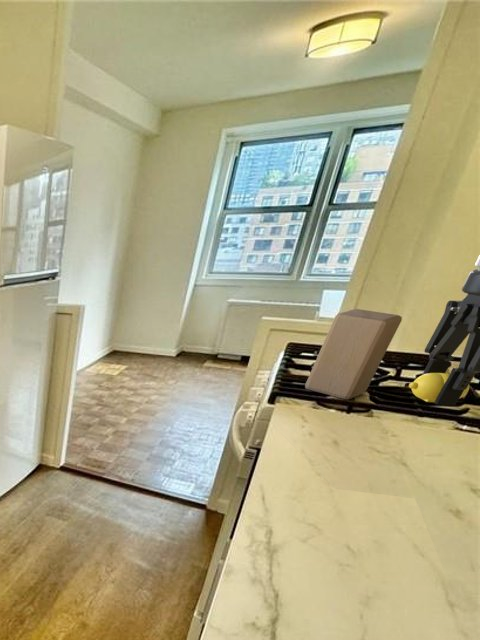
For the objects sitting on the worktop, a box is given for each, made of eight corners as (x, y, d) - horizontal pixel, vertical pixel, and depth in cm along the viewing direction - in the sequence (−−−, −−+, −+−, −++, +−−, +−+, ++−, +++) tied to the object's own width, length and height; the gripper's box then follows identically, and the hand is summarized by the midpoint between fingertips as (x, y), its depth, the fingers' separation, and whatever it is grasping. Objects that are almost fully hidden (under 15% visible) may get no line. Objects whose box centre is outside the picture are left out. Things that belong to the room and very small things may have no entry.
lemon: (448, 396, 94) (462, 371, 91) (467, 406, 89) (483, 380, 87) (394, 392, 96) (407, 367, 93) (411, 402, 92) (425, 376, 89)
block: (365, 393, 124) (405, 315, 115) (348, 401, 120) (388, 320, 110) (319, 382, 132) (353, 307, 122) (301, 389, 127) (335, 312, 118)
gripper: (440, 262, 90) (381, 380, 101) (521, 278, 75) (441, 415, 86) (492, 263, 88) (426, 383, 99) (586, 279, 73) (496, 419, 84)
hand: (433, 398), depth 92 cm, fingers closed on lemon, 5 cm apart
